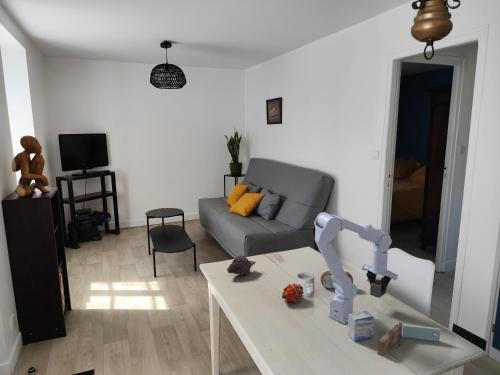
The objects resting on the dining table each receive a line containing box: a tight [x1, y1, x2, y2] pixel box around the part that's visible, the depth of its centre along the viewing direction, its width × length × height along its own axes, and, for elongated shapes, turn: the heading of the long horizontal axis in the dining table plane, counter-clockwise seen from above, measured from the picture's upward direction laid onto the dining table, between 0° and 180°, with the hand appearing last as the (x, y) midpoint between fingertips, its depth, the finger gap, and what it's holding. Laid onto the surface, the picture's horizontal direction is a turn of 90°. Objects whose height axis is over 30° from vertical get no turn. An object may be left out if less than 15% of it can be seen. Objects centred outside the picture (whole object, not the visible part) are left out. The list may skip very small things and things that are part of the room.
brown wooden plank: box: [377, 321, 403, 357], centre depth 121 cm, size 16×2×5 cm, turn 133°
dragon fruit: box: [281, 282, 305, 304], centre depth 152 cm, size 8×8×12 cm
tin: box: [320, 270, 354, 290], centre depth 163 cm, size 15×3×8 cm, turn 84°
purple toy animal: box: [226, 255, 256, 276], centre depth 179 cm, size 18×10×10 cm, turn 129°
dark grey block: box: [369, 278, 387, 299], centre depth 143 cm, size 6×4×5 cm, turn 133°
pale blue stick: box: [402, 323, 441, 342], centre depth 123 cm, size 12×2×4 cm, turn 76°
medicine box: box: [347, 310, 375, 342], centre depth 126 cm, size 8×4×9 cm, turn 105°
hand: (378, 290), depth 143 cm, fingers closed on dark grey block, 4 cm apart
